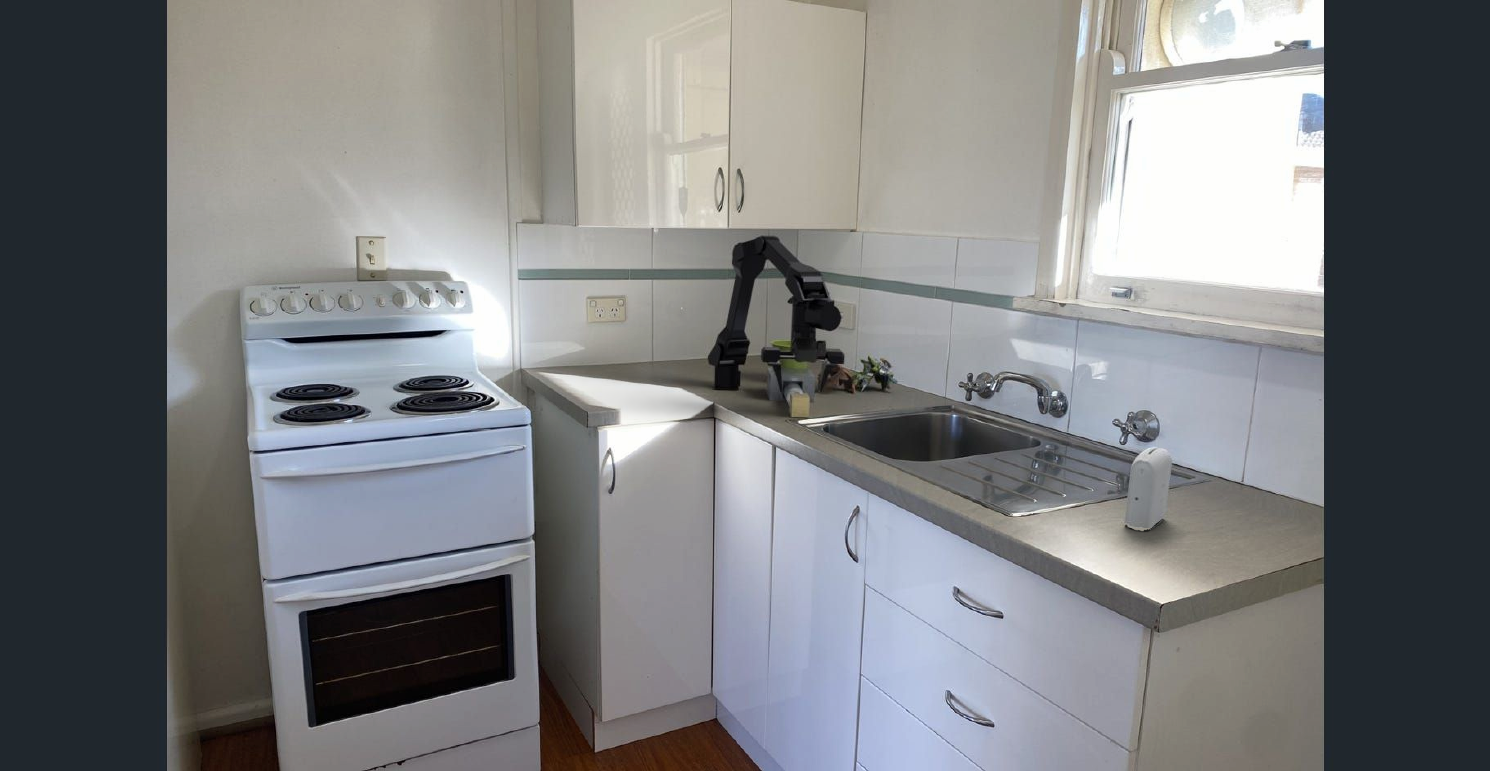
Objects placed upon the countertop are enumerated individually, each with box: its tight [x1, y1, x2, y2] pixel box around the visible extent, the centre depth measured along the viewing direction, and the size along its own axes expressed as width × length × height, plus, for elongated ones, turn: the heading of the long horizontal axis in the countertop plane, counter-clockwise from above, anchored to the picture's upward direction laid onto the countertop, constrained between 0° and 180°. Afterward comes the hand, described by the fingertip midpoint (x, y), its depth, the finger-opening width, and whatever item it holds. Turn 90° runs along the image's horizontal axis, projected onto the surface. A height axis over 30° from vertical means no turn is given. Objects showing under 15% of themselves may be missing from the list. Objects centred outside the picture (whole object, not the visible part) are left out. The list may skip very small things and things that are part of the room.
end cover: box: [783, 383, 811, 418], centre depth 219 cm, size 18×4×5 cm, turn 3°
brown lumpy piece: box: [817, 364, 856, 395], centre depth 243 cm, size 12×10×8 cm
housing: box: [766, 367, 816, 403], centre depth 234 cm, size 11×11×6 cm
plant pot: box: [770, 339, 809, 369], centre depth 250 cm, size 12×12×11 cm
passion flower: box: [847, 355, 898, 393], centre depth 245 cm, size 11×11×12 cm
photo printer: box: [1124, 446, 1173, 528], centre depth 146 cm, size 10×4×12 cm, turn 140°
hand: (800, 392), depth 212 cm, fingers open, 9 cm apart
